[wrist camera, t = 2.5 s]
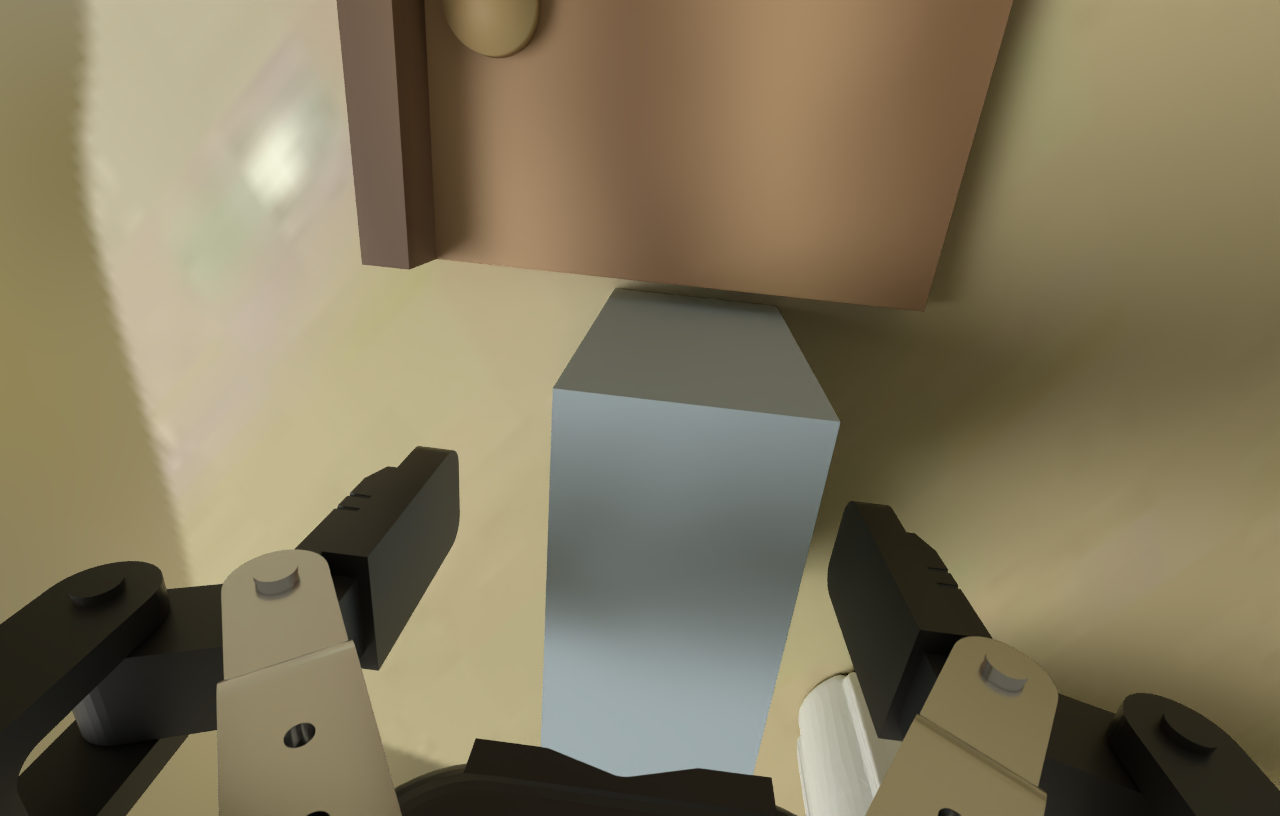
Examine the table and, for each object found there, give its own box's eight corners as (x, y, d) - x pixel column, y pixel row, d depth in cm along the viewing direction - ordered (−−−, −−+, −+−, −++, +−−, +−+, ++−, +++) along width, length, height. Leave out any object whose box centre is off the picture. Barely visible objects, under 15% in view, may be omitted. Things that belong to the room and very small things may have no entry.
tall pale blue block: (775, 305, 14) (840, 421, 8) (727, 567, 18) (746, 800, 11) (615, 287, 15) (552, 388, 8) (596, 550, 18) (539, 771, 11)
